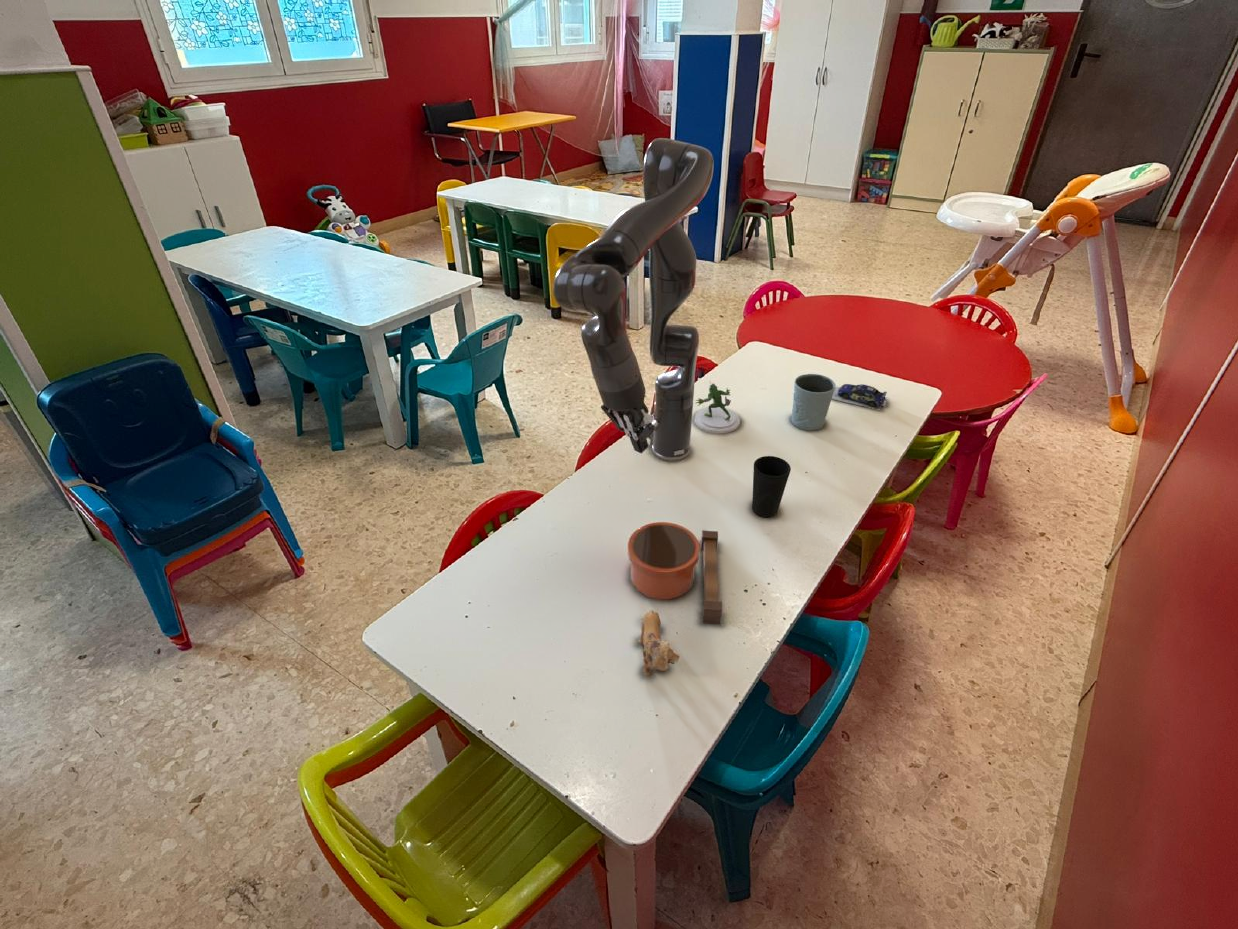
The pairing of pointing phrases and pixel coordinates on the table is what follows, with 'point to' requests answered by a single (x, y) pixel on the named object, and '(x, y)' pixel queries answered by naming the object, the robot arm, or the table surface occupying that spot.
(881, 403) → the race car
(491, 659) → the table surface
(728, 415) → the monster figurine
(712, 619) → the oak rail
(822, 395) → the grey planter pot
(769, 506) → the cup
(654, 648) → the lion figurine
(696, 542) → the terracotta pot
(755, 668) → the table surface
